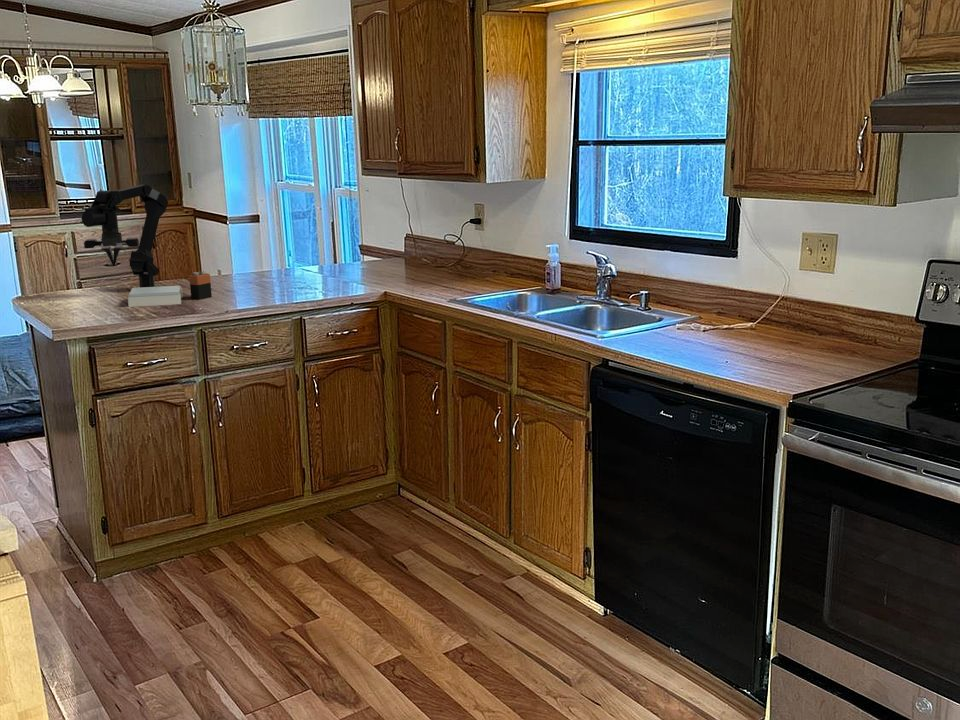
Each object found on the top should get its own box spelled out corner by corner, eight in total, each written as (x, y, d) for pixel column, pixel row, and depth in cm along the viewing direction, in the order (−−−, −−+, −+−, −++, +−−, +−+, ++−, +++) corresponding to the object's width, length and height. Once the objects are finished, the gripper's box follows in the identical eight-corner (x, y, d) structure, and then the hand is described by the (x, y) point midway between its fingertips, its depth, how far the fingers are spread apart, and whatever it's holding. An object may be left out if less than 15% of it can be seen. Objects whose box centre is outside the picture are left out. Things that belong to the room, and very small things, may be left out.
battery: (190, 299, 327) (188, 272, 324) (204, 296, 332) (202, 270, 330) (198, 300, 324) (196, 273, 322) (212, 297, 330) (210, 271, 328)
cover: (132, 290, 324) (132, 287, 324) (180, 288, 329) (180, 285, 329) (129, 296, 311) (128, 294, 311) (178, 294, 315) (178, 291, 315)
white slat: (132, 299, 325) (131, 290, 324) (182, 297, 330) (181, 288, 329) (128, 306, 312) (127, 297, 311) (181, 304, 317) (180, 294, 316)
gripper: (79, 227, 314) (84, 269, 318) (134, 225, 319) (138, 267, 323) (84, 224, 324) (88, 265, 328) (136, 223, 329) (141, 263, 333)
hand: (114, 265), depth 328 cm, fingers closed
